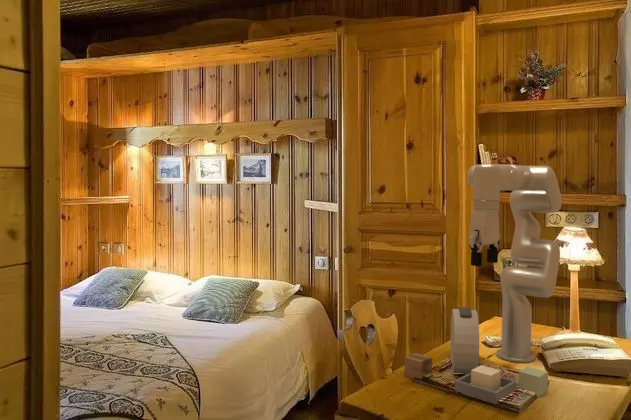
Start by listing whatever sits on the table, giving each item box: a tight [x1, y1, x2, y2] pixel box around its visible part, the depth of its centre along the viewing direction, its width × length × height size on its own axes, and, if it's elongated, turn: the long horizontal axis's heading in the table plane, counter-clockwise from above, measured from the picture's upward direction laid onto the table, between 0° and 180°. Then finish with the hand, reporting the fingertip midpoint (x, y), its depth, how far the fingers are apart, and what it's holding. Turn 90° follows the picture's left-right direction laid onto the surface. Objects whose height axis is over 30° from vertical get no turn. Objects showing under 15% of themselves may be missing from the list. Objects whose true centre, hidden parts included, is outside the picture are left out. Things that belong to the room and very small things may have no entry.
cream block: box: [471, 364, 502, 392], centre depth 152 cm, size 6×6×6 cm
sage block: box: [517, 366, 549, 399], centre depth 153 cm, size 6×6×6 cm
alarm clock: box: [449, 306, 480, 374], centre depth 172 cm, size 21×8×20 cm, turn 168°
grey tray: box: [454, 373, 518, 404], centre depth 152 cm, size 13×13×4 cm
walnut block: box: [404, 352, 433, 380], centre depth 165 cm, size 6×6×6 cm
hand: (484, 264), depth 156 cm, fingers open, 9 cm apart
